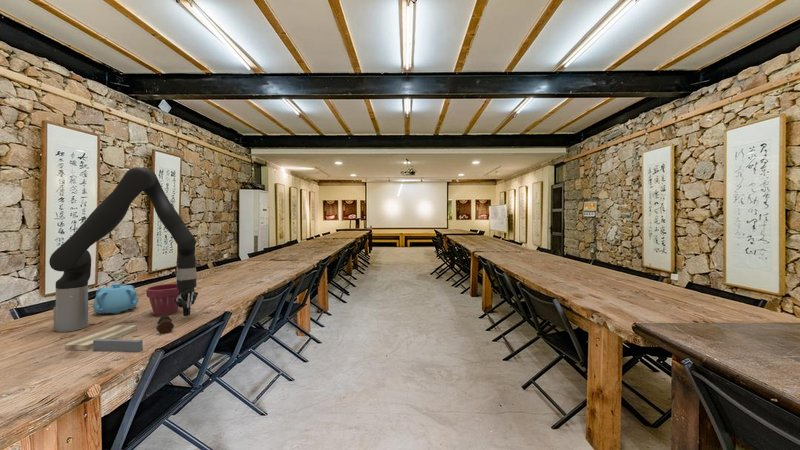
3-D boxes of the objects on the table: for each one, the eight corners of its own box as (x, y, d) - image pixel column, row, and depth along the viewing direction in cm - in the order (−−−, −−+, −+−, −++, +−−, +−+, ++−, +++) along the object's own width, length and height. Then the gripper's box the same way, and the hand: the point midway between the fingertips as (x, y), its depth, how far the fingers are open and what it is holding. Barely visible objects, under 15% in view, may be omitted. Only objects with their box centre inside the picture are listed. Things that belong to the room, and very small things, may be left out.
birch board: (65, 349, 109) (65, 344, 109) (117, 329, 129) (117, 325, 129) (87, 350, 109) (87, 345, 109) (137, 329, 129) (137, 325, 129)
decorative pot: (137, 312, 152) (137, 284, 152) (90, 318, 142) (90, 288, 142) (138, 305, 165) (139, 279, 165) (96, 309, 155) (96, 282, 155)
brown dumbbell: (166, 327, 138) (167, 336, 126) (153, 323, 135) (153, 332, 124) (174, 314, 140) (176, 322, 128) (162, 310, 137) (163, 318, 125)
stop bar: (93, 350, 109) (93, 340, 109) (97, 348, 111) (97, 338, 111) (138, 351, 109) (138, 341, 109) (142, 349, 110) (142, 339, 110)
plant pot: (144, 319, 143) (144, 291, 142) (148, 311, 154) (148, 285, 154) (183, 314, 150) (183, 287, 150) (183, 307, 162) (183, 282, 162)
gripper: (188, 274, 150) (188, 311, 151) (167, 280, 137) (167, 320, 138) (204, 275, 150) (204, 311, 151) (184, 280, 137) (184, 320, 137)
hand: (186, 315), depth 144 cm, fingers closed
